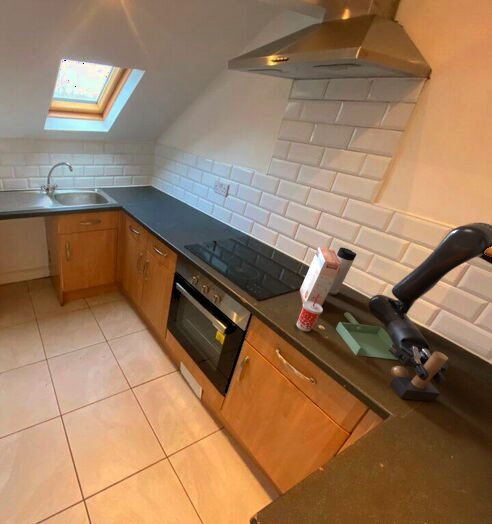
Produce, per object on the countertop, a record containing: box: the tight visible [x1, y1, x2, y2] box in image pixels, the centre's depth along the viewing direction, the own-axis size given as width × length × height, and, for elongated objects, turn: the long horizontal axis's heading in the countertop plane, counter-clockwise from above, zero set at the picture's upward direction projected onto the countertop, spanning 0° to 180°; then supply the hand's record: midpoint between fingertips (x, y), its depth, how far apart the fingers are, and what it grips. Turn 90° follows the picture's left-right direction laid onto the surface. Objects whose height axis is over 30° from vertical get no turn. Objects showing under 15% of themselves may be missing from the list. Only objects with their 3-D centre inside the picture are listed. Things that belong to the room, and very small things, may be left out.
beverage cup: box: [296, 294, 324, 332], centre depth 102 cm, size 6×6×14 cm
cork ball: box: [390, 365, 410, 379], centre depth 87 cm, size 4×4×4 cm
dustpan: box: [335, 312, 405, 361], centre depth 103 cm, size 20×15×3 cm
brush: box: [389, 350, 449, 402], centre depth 79 cm, size 9×4×14 cm, turn 87°
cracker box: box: [299, 246, 342, 307], centre depth 115 cm, size 14×6×21 cm, turn 160°
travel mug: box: [327, 246, 357, 296], centre depth 124 cm, size 6×7×20 cm
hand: (433, 380), depth 76 cm, fingers closed on brush, 3 cm apart
